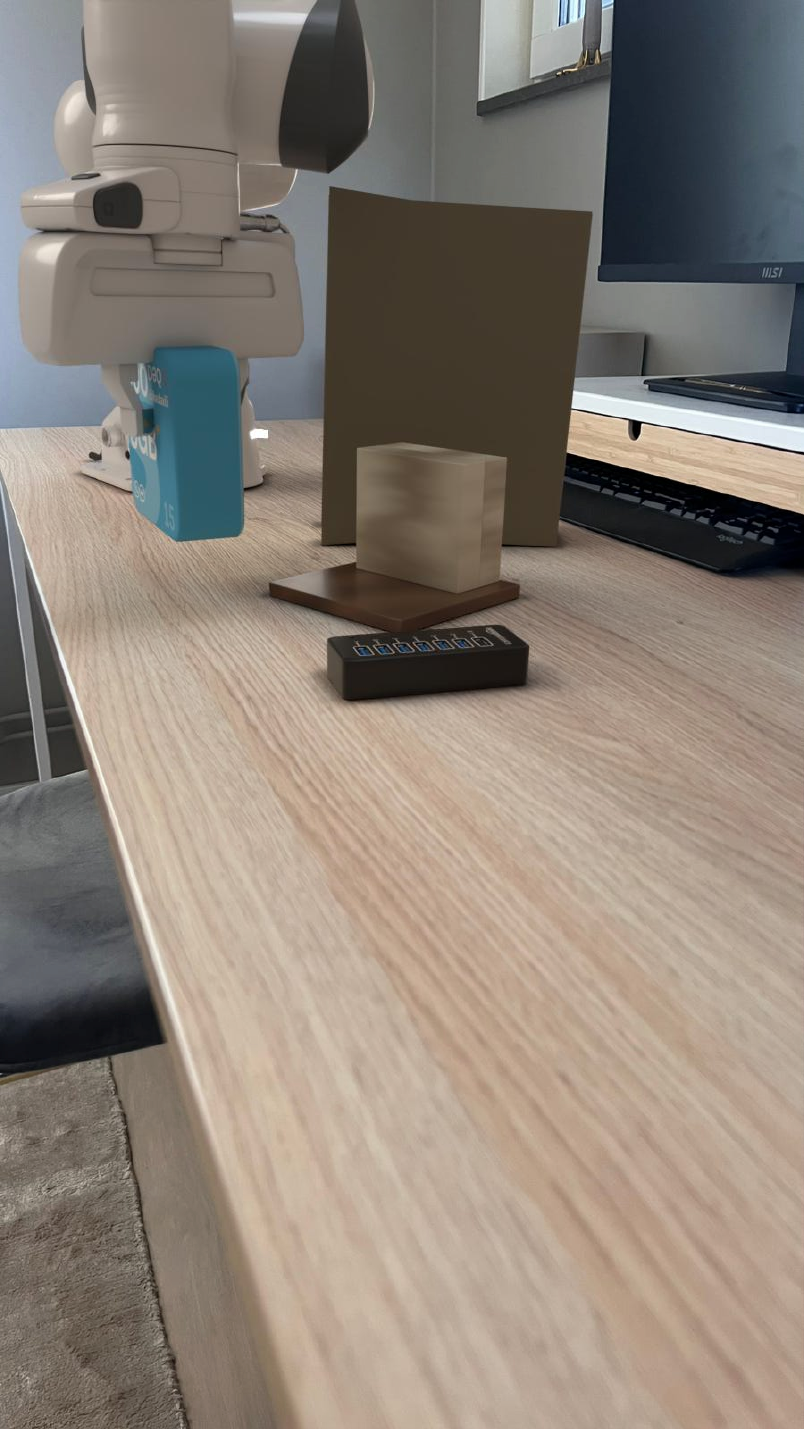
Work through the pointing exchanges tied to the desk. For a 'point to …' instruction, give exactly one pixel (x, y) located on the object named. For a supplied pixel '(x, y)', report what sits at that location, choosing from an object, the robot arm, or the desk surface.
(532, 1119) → the desk surface
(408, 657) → the multiport hub
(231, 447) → the data package
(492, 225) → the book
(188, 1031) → the desk surface
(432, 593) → the wood block on base
